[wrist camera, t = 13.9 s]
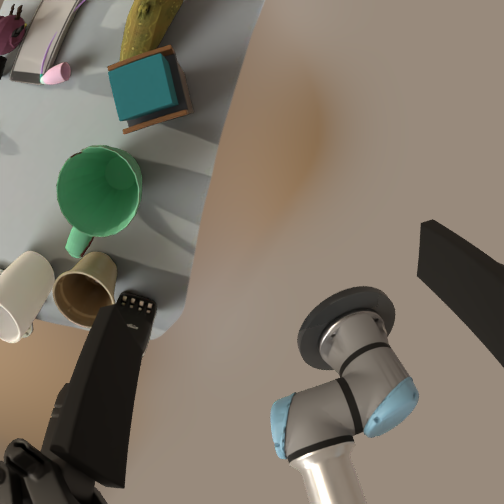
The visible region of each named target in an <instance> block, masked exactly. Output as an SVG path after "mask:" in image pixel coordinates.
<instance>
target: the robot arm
mask: <svg viewBox="0 0 504 504" xmlns="http://www.w3.org/2000/svg"><path fill="white" fill-rule="evenodd" d="M417 277H419V278H420V279H421V280H422V281H423V282H424V283H425V284H426V285H427V286H428V287H429V288H430V289H431V290H432V291H433V292H434V293H435V294H436V295H437V296H438V297H439V298H441V300H442V301H443V302H444V303H445V304H447V306H448V307H449V308H450V309H451V310H452V311H453V312H454V313H455V314H456V315H457V316H458V317H459V318H460V319H461V320H462V321H463V322H464V323H465V324H466V325H467V326H468V327H469V329H471V331H472V332H473V333H474V334H475V335H476V336H477V337H478V338H479V339H480V341H481V342H482V343H483V344H484V345H485V346H486V347H487V348H488V349H489V351H490V352H491V353H492V354H493V355H494V357H495V358H496V359H497V360H498V361H499V363H501V365H502V366H503V367H504V265H503V264H500V263H498V262H496V261H495V260H493V259H492V258H491V257H489V256H488V255H487V254H485V253H484V252H482V251H481V250H480V249H478V248H476V247H475V246H474V245H472V244H471V243H469V242H468V241H466V240H465V239H463V238H462V237H460V236H459V235H457V234H456V233H454V232H453V231H451V230H449V229H448V228H446V227H445V226H443V225H441V224H440V223H438V222H437V221H435V220H429V221H426V222H423V223H421V231H420V247H419V260H418V271H417ZM318 350H319V352H320V355H321V357H322V359H323V360H324V361H325V362H326V363H328V364H329V365H330V366H331V367H332V368H333V369H334V370H335V371H336V372H337V373H338V374H339V375H340V378H338V379H335V380H333V381H330V382H328V383H325V384H322V385H319V386H316V387H313V388H310V389H307V390H304V391H301V392H298V393H296V392H295V393H293V394H292V395H290V396H287V397H284V398H281V399H279V400H277V401H275V402H274V404H273V406H272V409H271V430H272V437H273V441H274V443H275V449H276V453H277V455H278V456H279V457H280V458H281V459H287V458H288V461H289V465H290V466H291V467H293V468H295V469H297V470H299V471H300V472H301V474H302V477H303V481H304V484H305V488H306V491H307V495H308V498H309V501H310V504H367V502H366V499H365V496H364V494H363V491H362V488H361V485H360V482H359V479H358V476H357V474H356V471H355V468H354V465H353V463H352V460H351V457H350V454H351V452H352V450H353V448H354V446H355V442H354V439H353V436H354V435H356V434H359V433H361V432H364V434H365V435H366V436H367V437H371V438H372V437H375V436H380V435H382V434H384V433H386V432H388V431H389V430H391V429H393V428H394V427H395V426H397V425H398V424H399V423H401V422H402V421H403V420H404V419H405V418H406V417H407V416H408V415H409V414H410V413H411V412H412V411H413V409H414V408H415V406H416V405H417V402H418V399H419V393H418V391H417V389H416V387H415V385H414V383H413V380H412V378H411V377H410V376H409V374H408V373H407V371H406V370H405V368H404V367H403V365H402V364H401V362H400V361H399V359H398V357H397V356H396V355H395V353H394V352H393V350H392V349H391V347H390V345H389V344H388V339H387V332H386V329H385V326H384V322H383V320H382V318H381V317H380V315H379V314H378V313H377V312H376V311H375V310H373V309H370V308H356V309H352V310H349V311H347V312H345V313H343V314H341V315H339V316H338V317H336V318H335V319H333V320H332V321H331V322H330V323H329V324H328V325H327V326H326V327H325V328H324V330H323V331H322V333H321V334H320V337H319V339H318ZM142 355H143V350H142V349H141V347H140V345H139V344H138V342H137V341H136V339H135V337H134V336H133V334H132V332H131V331H130V329H129V327H128V326H127V324H126V322H125V320H124V319H123V317H122V315H121V313H120V312H119V310H118V308H117V306H116V304H112V305H108V306H104V307H100V309H99V311H98V313H97V316H96V318H95V320H94V322H93V325H92V327H91V329H90V332H89V334H88V336H87V339H86V341H85V344H84V346H83V349H82V351H81V354H80V356H79V359H78V361H77V364H76V367H75V369H74V372H73V375H72V377H71V380H70V383H66V384H65V385H64V387H63V388H62V390H61V391H60V392H59V394H58V397H57V399H56V402H55V405H54V406H55V408H53V412H52V414H51V416H52V418H50V421H49V424H48V427H47V431H46V434H45V438H44V441H43V445H42V449H41V452H40V451H39V450H37V449H36V448H35V447H33V446H32V445H31V444H29V443H28V442H27V441H26V440H24V439H19V438H17V439H15V440H13V441H12V442H11V443H10V444H9V445H8V447H7V449H6V451H5V455H4V462H3V461H0V504H107V502H106V501H105V499H104V498H103V496H102V495H101V493H100V492H99V491H98V490H97V488H95V487H94V485H95V481H97V482H98V483H100V484H102V485H104V486H106V487H114V488H124V487H125V474H126V463H127V452H128V444H129V436H130V428H131V420H132V412H133V407H134V400H135V394H136V388H137V382H138V376H139V371H140V365H141V360H142Z"/></svg>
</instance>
